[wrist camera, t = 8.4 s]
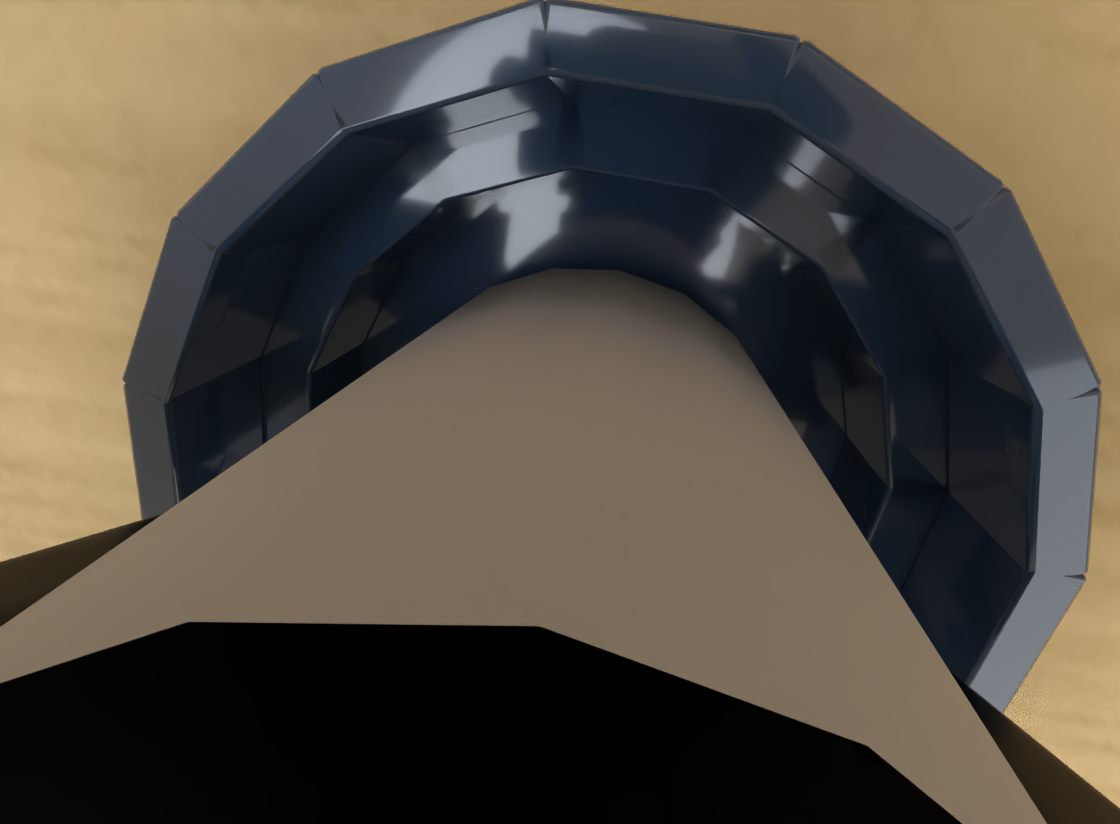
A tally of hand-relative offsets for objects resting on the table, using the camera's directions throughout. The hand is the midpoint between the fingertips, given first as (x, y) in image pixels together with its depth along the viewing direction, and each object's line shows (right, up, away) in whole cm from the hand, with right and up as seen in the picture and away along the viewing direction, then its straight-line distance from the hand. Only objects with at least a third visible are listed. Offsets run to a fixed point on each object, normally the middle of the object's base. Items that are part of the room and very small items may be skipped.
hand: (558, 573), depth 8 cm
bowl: (+1, +2, +5) cm, 5 cm away
